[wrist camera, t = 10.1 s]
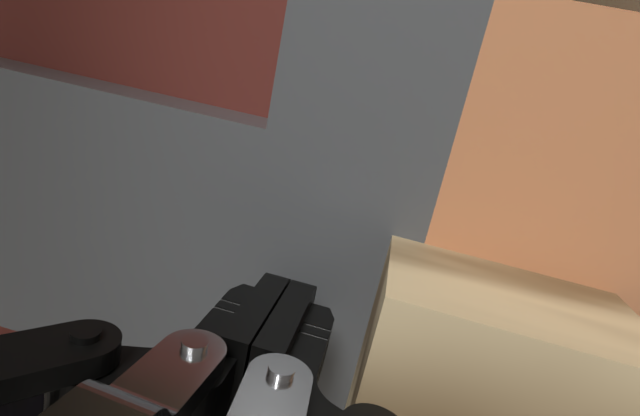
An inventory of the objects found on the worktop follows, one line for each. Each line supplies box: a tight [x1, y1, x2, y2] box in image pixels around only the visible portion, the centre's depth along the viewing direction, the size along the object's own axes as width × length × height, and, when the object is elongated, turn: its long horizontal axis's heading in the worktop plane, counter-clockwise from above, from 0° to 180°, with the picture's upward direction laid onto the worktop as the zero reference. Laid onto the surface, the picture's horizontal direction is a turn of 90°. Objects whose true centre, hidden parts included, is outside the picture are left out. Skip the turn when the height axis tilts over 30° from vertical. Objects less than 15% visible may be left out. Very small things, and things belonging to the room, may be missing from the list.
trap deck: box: [0, 0, 640, 410], centre depth 15 cm, size 18×44×6 cm, turn 78°
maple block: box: [345, 235, 640, 416], centre depth 11 cm, size 6×6×4 cm
